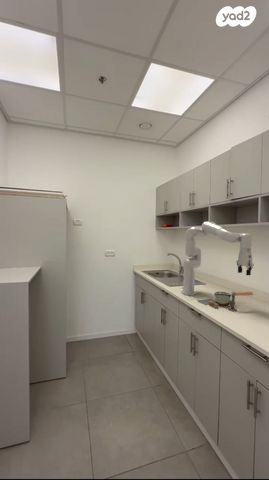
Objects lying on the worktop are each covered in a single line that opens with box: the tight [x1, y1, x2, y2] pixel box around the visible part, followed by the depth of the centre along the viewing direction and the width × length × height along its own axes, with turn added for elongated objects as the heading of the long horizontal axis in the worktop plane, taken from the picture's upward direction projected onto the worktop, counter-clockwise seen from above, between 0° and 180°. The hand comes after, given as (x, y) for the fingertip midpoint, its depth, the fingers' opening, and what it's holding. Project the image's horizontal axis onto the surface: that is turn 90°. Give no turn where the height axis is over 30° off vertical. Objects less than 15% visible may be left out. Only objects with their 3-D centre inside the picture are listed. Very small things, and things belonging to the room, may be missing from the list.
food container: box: [213, 291, 232, 308], centre depth 174 cm, size 12×6×10 cm, turn 77°
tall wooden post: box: [230, 291, 254, 297], centre depth 164 cm, size 16×3×2 cm, turn 100°
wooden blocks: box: [207, 296, 238, 312], centre depth 169 cm, size 16×19×10 cm
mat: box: [196, 298, 215, 306], centre depth 181 cm, size 10×15×1 cm, turn 113°
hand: (244, 273), depth 166 cm, fingers open, 8 cm apart
